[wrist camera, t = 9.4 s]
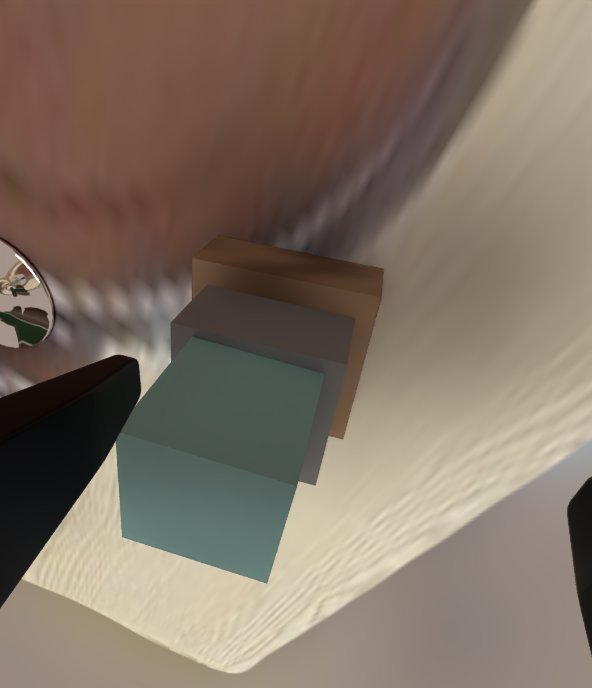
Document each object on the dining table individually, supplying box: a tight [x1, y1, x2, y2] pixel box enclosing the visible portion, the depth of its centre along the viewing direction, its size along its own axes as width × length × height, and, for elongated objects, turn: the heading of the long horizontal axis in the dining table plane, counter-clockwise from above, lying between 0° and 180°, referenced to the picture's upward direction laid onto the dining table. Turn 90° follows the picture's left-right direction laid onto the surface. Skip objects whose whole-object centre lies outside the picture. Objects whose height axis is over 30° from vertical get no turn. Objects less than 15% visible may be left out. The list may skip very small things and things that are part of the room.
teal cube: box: [116, 336, 325, 583], centre depth 14 cm, size 5×5×5 cm
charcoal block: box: [170, 285, 355, 485], centre depth 18 cm, size 6×6×4 cm
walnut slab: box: [192, 236, 383, 439], centre depth 21 cm, size 8×8×4 cm
